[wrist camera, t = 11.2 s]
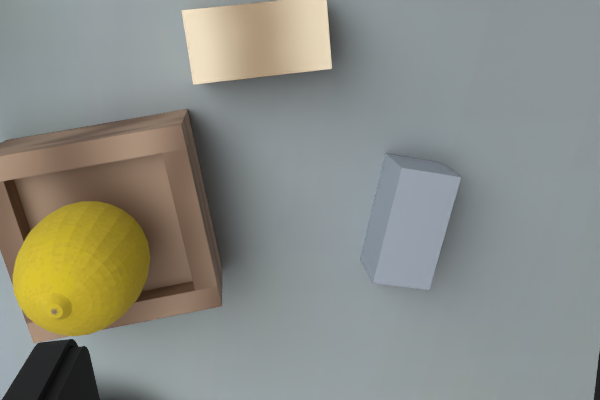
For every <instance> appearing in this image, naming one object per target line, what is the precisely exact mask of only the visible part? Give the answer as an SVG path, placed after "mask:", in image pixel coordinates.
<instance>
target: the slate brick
mask: <svg viewBox="0 0 600 400" xmlns="http://www.w3.org/2000/svg"><path fill="white" fill-rule="evenodd" d="M460 180H461V177H460V176H459V175H457V174H456V173H454V172H453V171H452V170H450V169H449V168H447V167H446V166H444V165H443V164H442V163H440V162H435V161H429V160H423V159H417V158H411V157H404V156H398V155H392V154H386V153H385V158H384V162H383V166H382V170H381V174H380V179H379V183H378V187H377V191H376V195H375V199H374V204H373V208H372V212H371V216H370V220H369V225H368V229H367V233H366V237H365V241H364V245H363V250H362V254H361V258H360V260H361V262H362V264H363V266H364V268H365V270H366V271H367V273H368V275H369V277H370V279H371V281H372V282H373V283H375V284H384V285H392V286H400V287H409V288H417V289H425V290H430V286H431V282H432V279H433V275H434V272H435V268H436V265H437V261H438V258H439V254H440V251H441V247H442V244H443V240H444V236H445V233H446V229H447V226H448V222H449V219H450V215H451V212H452V208H453V205H454V201H455V198H456V194H457V190H458V187H459V183H460Z"/></svg>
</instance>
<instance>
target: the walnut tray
mask: <svg viewBox="0 0 600 400" xmlns="http://www.w3.org/2000/svg"><path fill="white" fill-rule="evenodd" d="M81 201H99V202H104V203H108V204H112V205H114V206H116V207H118V208H120V209H122V210H124V211H125V212H127V213H128V214H129V215H130V216H132V217H133V218H134V219H135V220H136V222H137V223H138V224H139V225H140V227H141V228H142V230H143V232H144V234H145V237H146V239H147V241H148V246H149V252H150V264H149V272H148V277H147V280H146V282H145V284H144V287H143V289H142V291H141V294H140V295H139V297H138V298H137V300H136V301H135V302H134V304H133V305H132V306H131V307H130V308H129V309H128V311H127V312H126V313H125V314H124V315H123V316H122V317H120V318H119V319H118V320H116V321H115V322H113V323H112V324H110V325H109V326H107V327H106V328H104V329H108V328H113V327H118V326H123V325H128V324H134V323H139V322H144V321H149V320H154V319H159V318H164V317H169V316H174V315H179V314H184V313H189V312H194V311H200V310H205V309H210V308H215V307H220V306H222V265H221V260H220V256H219V251H218V247H217V242H216V238H215V233H214V228H213V224H212V219H211V215H210V210H209V206H208V201H207V196H206V192H205V187H204V183H203V178H202V174H201V169H200V164H199V160H198V155H197V151H196V146H195V141H194V137H193V132H192V128H191V123H190V119H189V114H188V109H185V110H179V111H173V112H168V113H162V114H156V115H150V116H144V117H139V118H133V119H127V120H121V121H115V122H110V123H104V124H98V125H92V126H86V127H81V128H75V129H69V130H63V131H57V132H52V133H46V134H40V135H34V136H28V137H23V138H17V139H11V140H6V141H4V142H2V143H0V250H1V253H2V256H3V259H4V261H5V264H6V267H7V270H8V273H9V275H10V278H11V281H12V284H13V272H14V266H15V261H16V257H17V255H18V252H19V250H20V248H21V246H22V245H23V243H24V241H25V239H26V237H27V235H28V234H29V233H30V231H31V230H32V229H33V228H34V227H35V226H36V225H37V224H38V223H39V222H40V221H41V220H42V219H43V218H44V217H46V216H47V215H49V214H50V213H52V212H54V211H56V210H58V209H59V208H61V207H63V206H65V205H69V204H73V203H77V202H81ZM22 312H23V310H22ZM23 315H24V318H25V320H26V323H27V326H28V329H29V332H30V334H31V337H32V340H33V343H37V342H42V341H47V340H52V339H57V338H62V337H68V336H66V335H59V334H56V333H52V332H49V331H47V330H45V329H43V328H41V327H40V326H38V325H36V324H35V323H34V322H33V321H32V320H30V319H29V318H28V317H27V316H26V314H25V313H24V312H23ZM102 330H103V329H102Z"/></svg>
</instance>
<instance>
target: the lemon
mask: <svg viewBox="0 0 600 400" xmlns="http://www.w3.org/2000/svg"><path fill="white" fill-rule="evenodd" d="M149 264H150V252H149V246H148V241H147V239H146V237H145V234H144V232H143V230H142V228H141V227H140V225H139V224H138V223H137V222H136V220H135V219H134V218H133V217H132V216H130V215H129V214H128V213H127V212H125V211H124V210H122V209H120V208H118V207H116V206H114V205H112V204H108V203H104V202H99V201H81V202H77V203H73V204H69V205H65V206H63V207H61V208H59V209H58V210H56V211H54V212H52V213H50V214H49V215H47V216H46V217H44V218H43V219H42V220H41V221H40V222H39V223H38V224H37V225H36V226H35V227H34V228H33V229H32V230H31V231H30V233H29V234H28V235H27V237H26V239H25V241H24V243H23V245H22V246H21V248H20V250H19V252H18V255H17V257H16V261H15V266H14V272H13V287H14V293H15V296H16V299H17V301H18V304H19V306H20V308H21V309H22V310H23V312H24V313H25V314H26V316H27V317H28V318H29V319H30V320H32V321H33V322H34V323H35V324H36V325H38V326H40V327H41V328H43V329H45V330H47V331H49V332H52V333H56V334H59V335H66V336H79V335H87V334H91V333H94V332H97V331H99V330H102V329H104V328H106V327H107V326H109V325H110V324H112V323H113V322H115V321H116V320H118V319H119V318H120V317H122V316H123V315H124V314H125V313H126V312H127V311H128V309H129V308H130V307H131V306H132V305H133V304H134V302H135V301H136V300H137V298H138V297H139V295H140V294H141V291H142V289H143V287H144V284H145V282H146V280H147V277H148V272H149Z"/></svg>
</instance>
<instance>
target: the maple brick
mask: <svg viewBox="0 0 600 400" xmlns="http://www.w3.org/2000/svg"><path fill="white" fill-rule="evenodd" d="M182 15H183V22H184V28H185V34H186V41H187V47H188V54H189V60H190V66H191V73H192V79H193V85H194V84H202V83H211V82H220V81H229V80H238V79H246V78H255V77H264V76H273V75H281V74H290V73H299V72H308V71H316V70H325V69H332V63H331V50H330V37H329V24H328V11H327V0H280V1H270V2H260V3H250V4H241V5H231V6H221V7H211V8H202V9H192V10H182Z"/></svg>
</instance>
